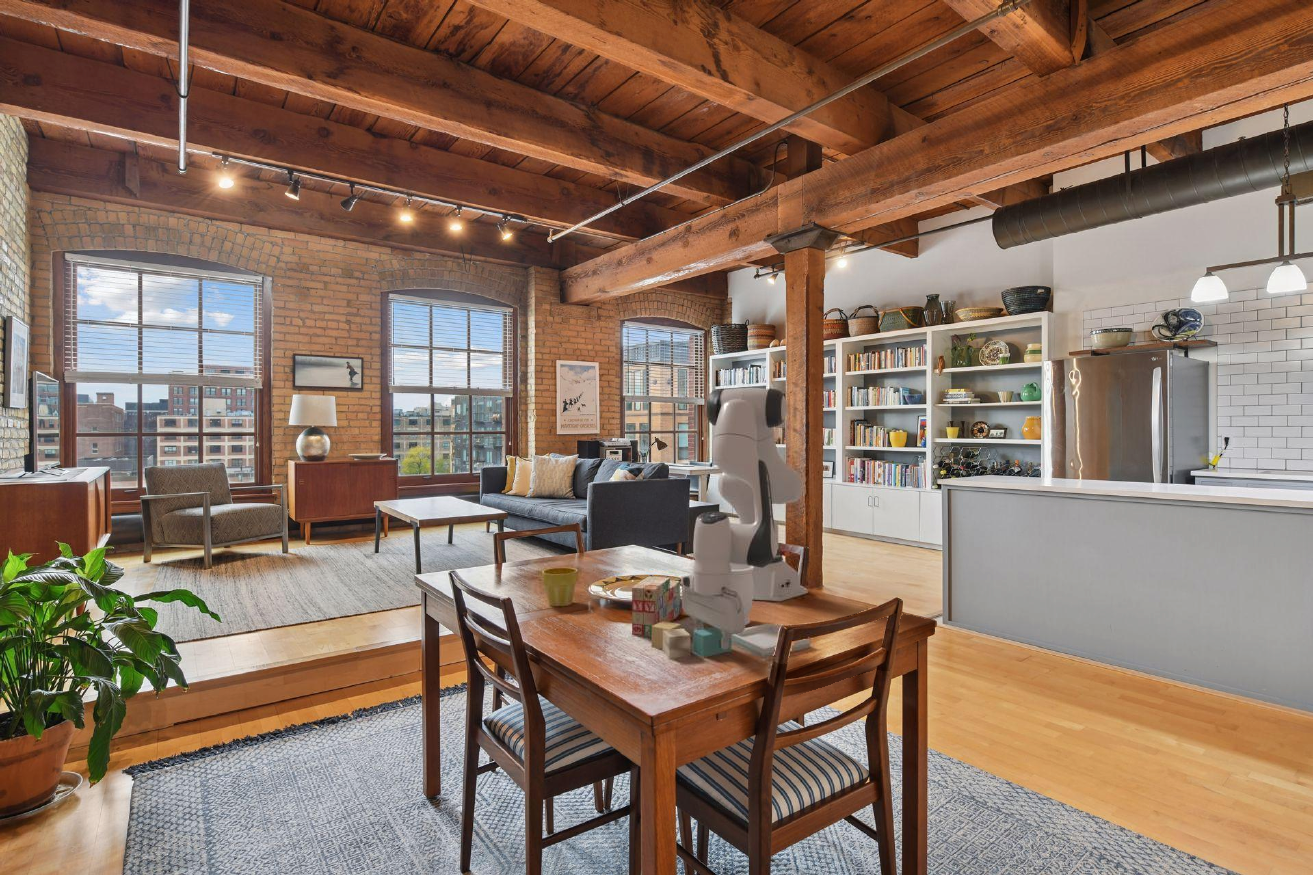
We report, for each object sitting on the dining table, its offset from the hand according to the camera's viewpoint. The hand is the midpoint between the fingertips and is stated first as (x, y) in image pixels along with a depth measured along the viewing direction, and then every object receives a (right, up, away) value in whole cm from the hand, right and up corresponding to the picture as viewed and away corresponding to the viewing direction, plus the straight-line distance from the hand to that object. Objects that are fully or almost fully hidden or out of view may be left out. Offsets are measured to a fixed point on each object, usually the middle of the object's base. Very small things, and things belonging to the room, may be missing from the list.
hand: (712, 642), depth 156 cm
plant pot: (-41, -1, +41) cm, 58 cm away
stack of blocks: (-13, -2, +21) cm, 25 cm away
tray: (+13, -2, +5) cm, 14 cm away
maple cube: (-8, -2, -1) cm, 9 cm away
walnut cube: (+2, -2, +12) cm, 12 cm away
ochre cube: (-11, -2, +4) cm, 12 cm away
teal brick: (0, -2, 0) cm, 2 cm away
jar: (+8, -2, +22) cm, 24 cm away
